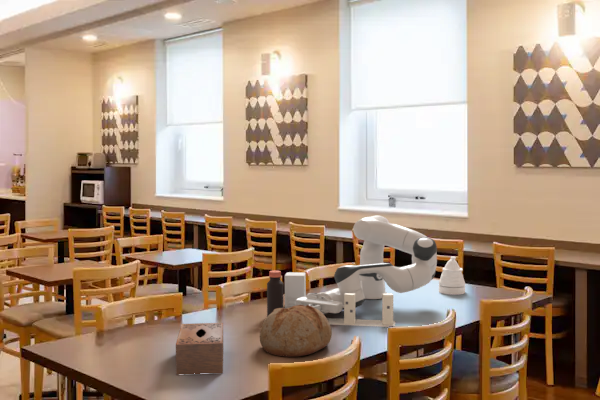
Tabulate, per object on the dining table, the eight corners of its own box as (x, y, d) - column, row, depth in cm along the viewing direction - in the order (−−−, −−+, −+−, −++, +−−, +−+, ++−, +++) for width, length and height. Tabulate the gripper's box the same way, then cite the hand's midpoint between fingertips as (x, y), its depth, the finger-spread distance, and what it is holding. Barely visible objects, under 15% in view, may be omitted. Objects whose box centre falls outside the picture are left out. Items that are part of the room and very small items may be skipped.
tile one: (382, 322, 271) (382, 293, 270) (392, 322, 271) (392, 293, 270) (383, 324, 268) (383, 295, 267) (393, 324, 268) (393, 295, 267)
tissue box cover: (222, 374, 209) (222, 343, 209) (176, 376, 208) (175, 344, 207) (223, 350, 235) (223, 322, 234) (181, 352, 234) (181, 323, 233)
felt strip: (305, 324, 271) (305, 323, 270) (308, 318, 280) (308, 317, 280) (394, 328, 264) (394, 327, 264) (395, 321, 274) (395, 320, 274)
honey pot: (467, 294, 328) (468, 258, 327) (441, 294, 328) (441, 258, 327) (461, 289, 341) (462, 254, 339) (436, 289, 341) (437, 254, 340)
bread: (296, 334, 255) (296, 295, 254) (345, 346, 240) (345, 304, 239) (247, 350, 235) (246, 308, 234) (296, 363, 220) (296, 318, 219)
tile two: (345, 322, 272) (345, 293, 272) (355, 322, 271) (355, 293, 271) (344, 324, 269) (344, 294, 268) (353, 324, 268) (354, 295, 267)
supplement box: (306, 304, 307) (306, 272, 306) (304, 308, 298) (304, 275, 297) (286, 304, 308) (286, 271, 307) (284, 308, 299) (284, 275, 298)
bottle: (269, 321, 276) (268, 273, 274) (265, 317, 282) (265, 270, 281) (285, 320, 278) (285, 272, 276) (281, 316, 284) (281, 269, 283)
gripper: (347, 312, 278) (332, 319, 266) (305, 307, 288) (288, 313, 277) (347, 297, 278) (332, 304, 266) (305, 292, 288) (288, 298, 276)
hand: (309, 309), depth 271 cm, fingers closed
